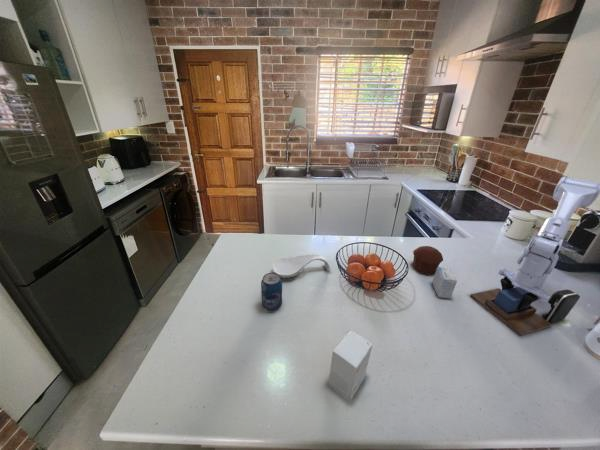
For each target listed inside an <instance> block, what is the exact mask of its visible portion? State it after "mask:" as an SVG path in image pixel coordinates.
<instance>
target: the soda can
mask: <svg viewBox="0 0 600 450" xmlns="http://www.w3.org/2000/svg"><path fill="white" fill-rule="evenodd" d="M260 292H261V293H260V294H261V295H260V296H261V306H262V308H263V309H264V310H265V311H267V312H268V313H269V312H270V313H273V312H277V311H278V310H279V309H280V308H281V307H282V305H283V280H282V277H280V276H279V275H278V274H276V273H275V272H268V273H265V274H264V275H263V276H262V279H261V281H260Z"/></svg>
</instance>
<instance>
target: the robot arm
mask: <svg viewBox="0 0 600 450" xmlns="http://www.w3.org/2000/svg"><path fill="white" fill-rule="evenodd" d="M553 190H554V191H553V193H552V200H554V201H556V202H557V207H556V209H555V211H554V214H553V215H552V216H551V217H548V218H546V219H545V220H544V222H543V224H542V225H541V227H540V229H539V230H538V232H537V234H536V235H534V236H533V237H532V238H531V240H530V242H529V244H528V245H526V246H524V248H523V250H522V252H521V253H520V255H519V256H518V258H517V261H516V263H517V265H518V268H517V269H516V271H515V273H514V272H512V271H510V270H508V269H506V268H502V269H501V268H500V269H499V272H498V275H500V276H503V278H501V279H500V281H499V282H500V286H501V290H506V289H510V288H515V287H520V288H522V289H524V290H526V291H528V292H529V293H526V294H523V298H522V301H521V303H520V304H519V306H518V308H517V309H518V310H523V309H524V308H525V307H526V306H528V305H529V304H532V303H534V302H536V301H540V302H542V303H544V304H545V303H548V301H549V299H550V298H551V296H550V295H548V294H547V293H546V292H545V291H544V290H543V289H541V288H542V286H543V285H544V283H545V282H546V280H547V278H548V275H551V274H552V272H553V270H554V269H555V267H556V265H557V263H558V260H559V256H560V255H559V254H558V253H559V252H560V250H561V248H562V246H563V243H564V239H565V237H566V235H567V234H568V232H569V230H570V229H571V223H570V222H569V221H570V220H571V218H572V216H573V214H574V213H575V212H576V211H577V210H578V209H580V208H584V207H585V208H586V207H587V208H588V207H590V206H591V205H592V204H593V203H594V202H595V201H596V200H597V198H598V197H599V196H600V182H598V181H593V180H586V179H580V178H574V177H568V176H566V175H564V176H562V177H561V178H560V179H559V181H558V183H557V184H556V186H555V188H554V189H553Z"/></svg>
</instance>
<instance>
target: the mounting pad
mask: <svg viewBox="0 0 600 450" xmlns="http://www.w3.org/2000/svg"><path fill="white" fill-rule="evenodd" d="M501 290H502V288H495V289H494V288H493V289H490V290H485V291H481V292H476V293H471V294H470V297H471V298H472V299H473V300H474V301H476V302H477V303H478V304H479V305H481V307H483V308H484V309H485V310H487V312H489V313H491V314H492V315H493V316H494V317H495V318H497V319H498V320H499V321H501V323H503V324H505V326H507V328H509V329H510V330H512V331H513V332H514V333H516V335H518V336H519V337H520V336H524V335H527V334H530V333H535V332H538V331H541V330H545V329H548V328H551V327H552V326H553V324H552V323H551V322H548V321H546V320H545V319H544V318H543V317H542V316H540V315H539V314H537V313H536V312H537V310H538V309H537V308H536V307H534V306H533V305H530V306H529V308H528V309H526V310H522V311H518V312H515V313H511V314H507V313H506V312H505V311H503V310H502V309H501V308H499V307H498V306H497V305H496V304H494V303H493V302H494V300H495V298H496V296H497V294H498V292H499V291H501Z"/></svg>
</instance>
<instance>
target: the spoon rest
mask: <svg viewBox="0 0 600 450" xmlns="http://www.w3.org/2000/svg"><path fill="white" fill-rule="evenodd" d="M313 261H322V262H323V263H324V268H325V270H326V271H327V272H330V271H331V266H330V264H329V262H328V260H327V258H326V257H325V256H324V255H322V254H319V253H310V254H303V255H294V256H286V257H281V258H278V259H277V260H275V262H273V264H272V271H273V273H276V274H278V275H279V276H280V278H283V279H288V278H293V277H295V276H296V275H298V274H299V273H300V272H302V270H303V269H305V268H306V266H308V265H309V264H310V263H311V262H313Z"/></svg>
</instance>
